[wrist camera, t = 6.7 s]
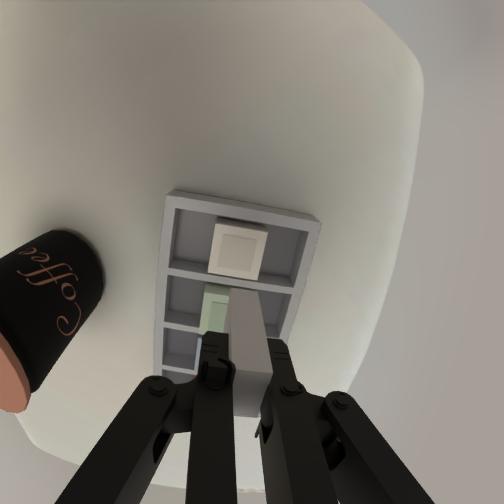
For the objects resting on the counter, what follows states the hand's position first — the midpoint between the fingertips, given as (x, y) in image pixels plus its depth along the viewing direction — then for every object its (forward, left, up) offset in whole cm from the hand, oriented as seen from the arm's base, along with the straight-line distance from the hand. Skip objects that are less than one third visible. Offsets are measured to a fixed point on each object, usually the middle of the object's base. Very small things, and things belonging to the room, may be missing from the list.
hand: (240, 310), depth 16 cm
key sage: (+6, 0, -11) cm, 13 cm away
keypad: (+9, 0, -14) cm, 17 cm away
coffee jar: (+7, -19, -14) cm, 25 cm away
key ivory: (0, 0, -13) cm, 13 cm away
